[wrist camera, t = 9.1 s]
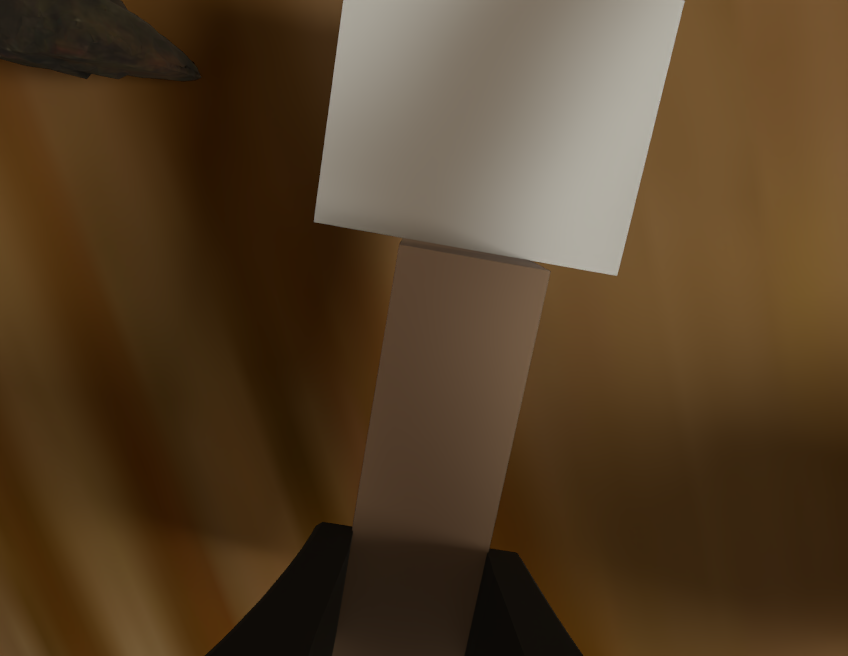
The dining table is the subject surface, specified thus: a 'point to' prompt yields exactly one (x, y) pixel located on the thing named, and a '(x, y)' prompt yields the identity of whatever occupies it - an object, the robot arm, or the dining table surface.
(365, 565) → the turner
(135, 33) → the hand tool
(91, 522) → the dining table surface
